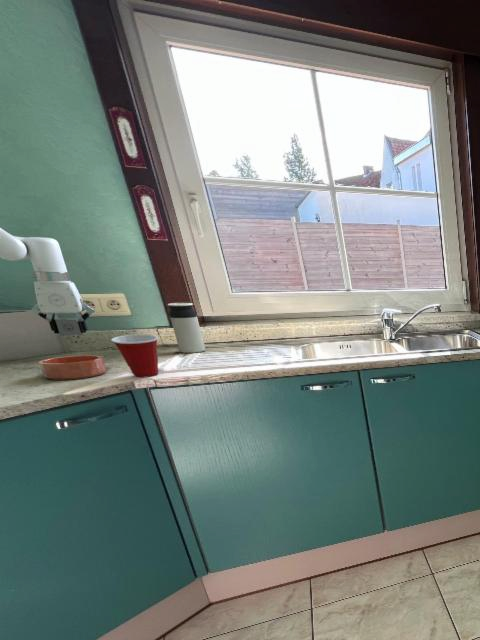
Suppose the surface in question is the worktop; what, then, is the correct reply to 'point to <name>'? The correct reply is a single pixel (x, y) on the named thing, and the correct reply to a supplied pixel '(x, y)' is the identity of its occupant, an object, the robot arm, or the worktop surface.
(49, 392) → the worktop surface
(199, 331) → the travel mug
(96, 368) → the bowl
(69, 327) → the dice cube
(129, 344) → the plastic cup
